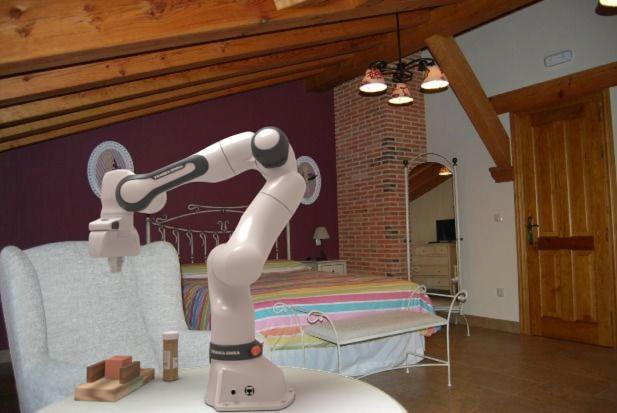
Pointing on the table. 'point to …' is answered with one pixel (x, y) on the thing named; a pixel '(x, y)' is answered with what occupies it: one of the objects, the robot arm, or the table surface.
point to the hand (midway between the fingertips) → (116, 272)
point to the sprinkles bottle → (170, 355)
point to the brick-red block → (115, 366)
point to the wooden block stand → (112, 382)
